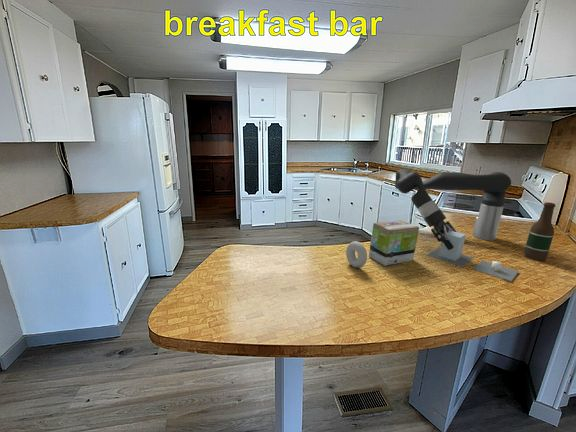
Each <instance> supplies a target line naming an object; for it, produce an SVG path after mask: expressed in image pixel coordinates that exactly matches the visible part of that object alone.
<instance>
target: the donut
mask: <svg viewBox="0 0 576 432" xmlns="http://www.w3.org/2000/svg"><path fill="white" fill-rule="evenodd" d="M345 251H346V252H345V254H346V259H347V262H348V263H349V265H351V266H352V267H353V268H355V269H361V268H363V267H365V265H366V264H367V261H368V253H367V249H366V248H365V246H364V244H362V243H361V242H360V241H357V240H355V241H354V240H353V241H351V242H349V244H348V245H347V247H346V250H345ZM356 253H357V256H356Z"/></svg>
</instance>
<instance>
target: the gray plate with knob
mask: <svg viewBox="0 0 576 432" xmlns="http://www.w3.org/2000/svg"><path fill="white" fill-rule="evenodd" d="M472 270H473V271H477V272H479V273H483V274H486V275H490V276H491V277H494V278H495V277H496V278H499V279H502V280H503V281H505V282H508V281H509V282H508V283H512V282H513V281H514V279H515V277H516V276H517V275H518V274H519V272H520V271H519V270H516V269H513V268H509V267H505V266H503V263H502V262H501V261H497V260H492V262H489V261H485V260H481V261H479V263H477V264H476V265H475V266H474V267H473V268H472ZM511 281H512V282H511Z"/></svg>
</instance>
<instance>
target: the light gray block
mask: <svg viewBox="0 0 576 432" xmlns="http://www.w3.org/2000/svg"><path fill="white" fill-rule="evenodd" d="M466 235H467V234H466V233H462V232H457V231H456V232H454V231H450V230H449V232H447V238H448V240H449V241H450V243H451V244H452V245H453V247H454V248H453V249H451V250H448V249H447V247H446V246H445V245H444V243H443V242H440V247H439V248H440V252H439V256H441V257H444V258H447V259H450V260H454V261H456V260H457V259H459V258H460V257H461V254H463V251H464V250H463V249H464V245H465V240H466Z"/></svg>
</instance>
